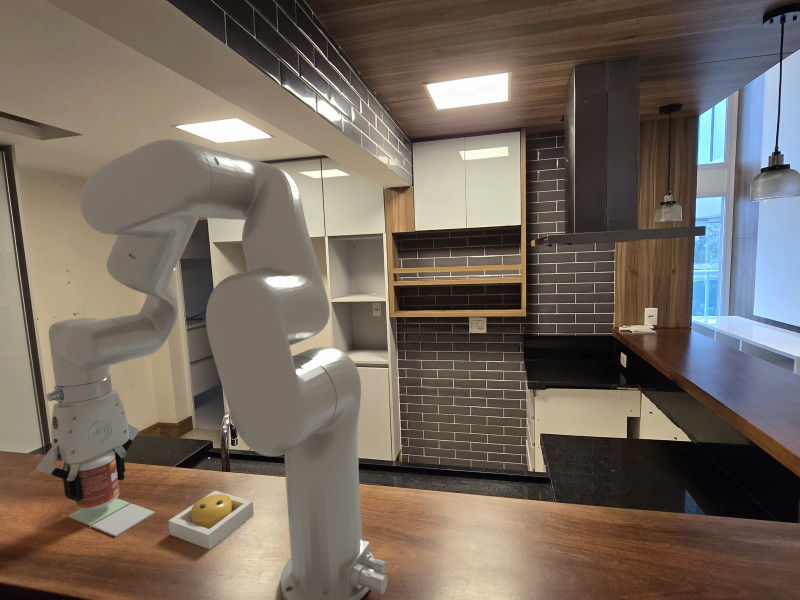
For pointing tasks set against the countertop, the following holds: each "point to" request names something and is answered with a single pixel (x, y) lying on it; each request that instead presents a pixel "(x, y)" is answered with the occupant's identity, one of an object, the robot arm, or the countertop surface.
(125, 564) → the countertop surface
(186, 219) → the robot arm
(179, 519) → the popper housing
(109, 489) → the pill bottle
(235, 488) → the countertop surface
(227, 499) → the dome
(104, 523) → the grey square tile
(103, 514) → the pale green square tile
